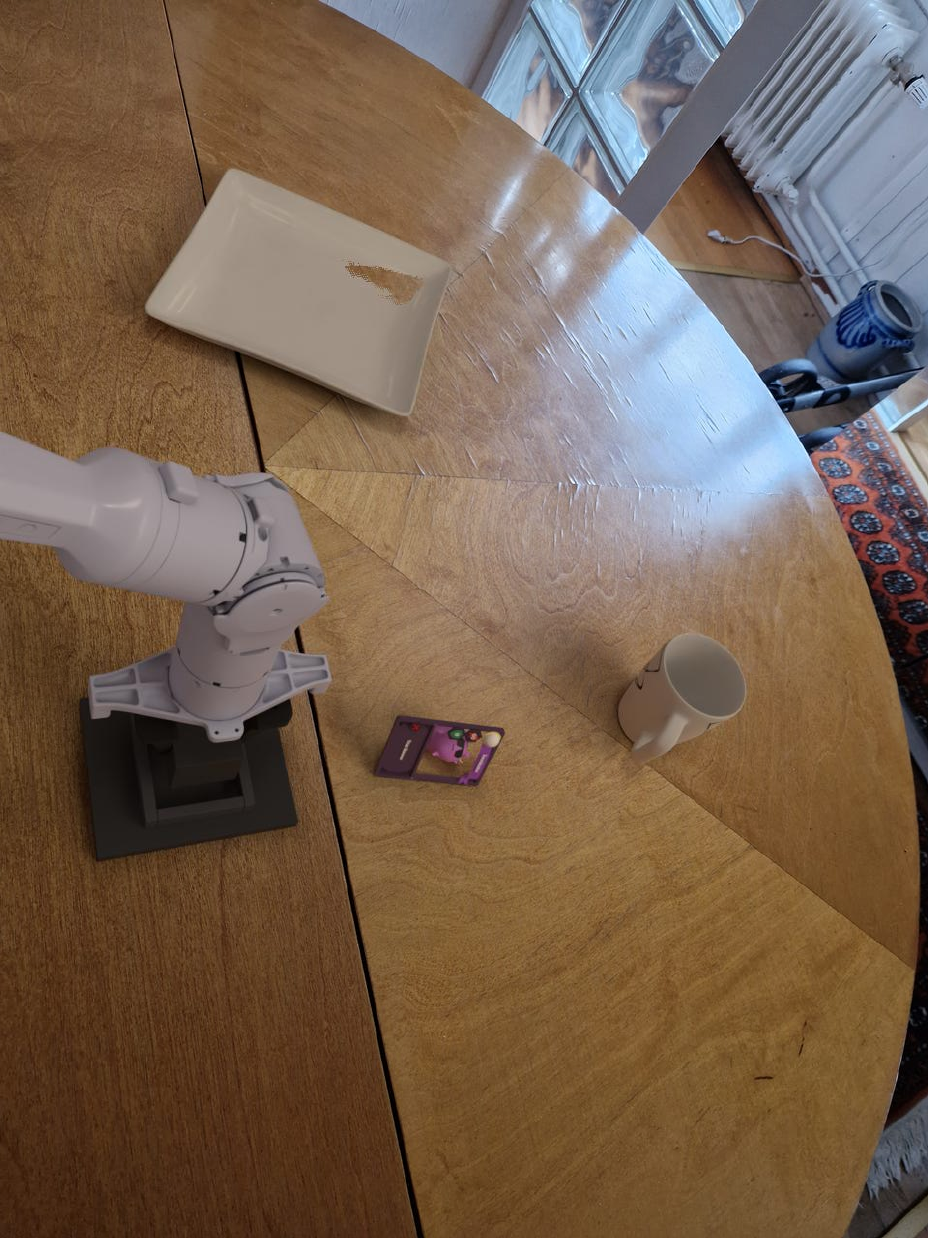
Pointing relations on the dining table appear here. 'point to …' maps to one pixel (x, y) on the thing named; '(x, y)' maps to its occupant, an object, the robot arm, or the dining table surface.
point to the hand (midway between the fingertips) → (198, 736)
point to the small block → (201, 758)
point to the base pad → (176, 792)
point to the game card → (435, 748)
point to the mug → (680, 695)
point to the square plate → (303, 292)
